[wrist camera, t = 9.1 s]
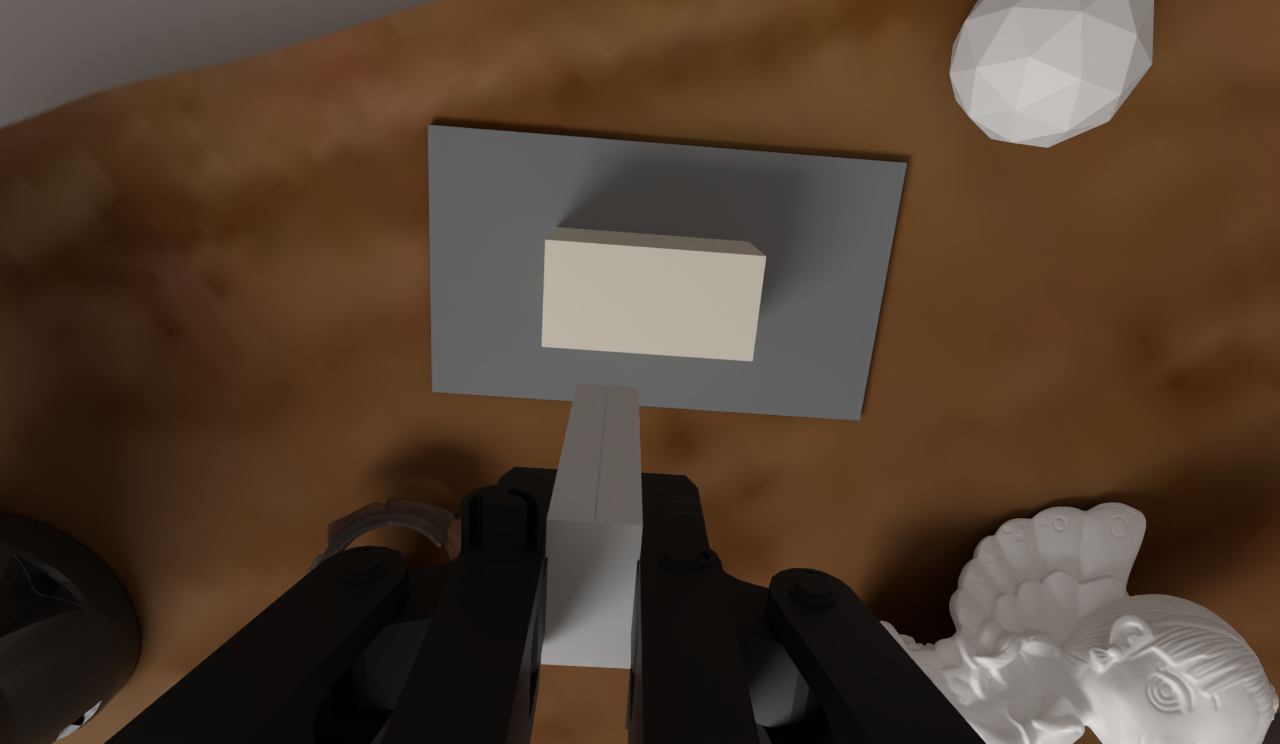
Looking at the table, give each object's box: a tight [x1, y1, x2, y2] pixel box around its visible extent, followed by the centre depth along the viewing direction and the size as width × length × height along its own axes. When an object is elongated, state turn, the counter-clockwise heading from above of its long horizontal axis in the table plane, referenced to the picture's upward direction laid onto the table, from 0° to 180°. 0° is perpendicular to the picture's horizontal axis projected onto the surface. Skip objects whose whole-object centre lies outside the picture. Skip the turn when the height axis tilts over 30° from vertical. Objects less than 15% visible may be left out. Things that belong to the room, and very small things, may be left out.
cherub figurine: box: [880, 502, 1279, 744], centre depth 39 cm, size 13×12×20 cm
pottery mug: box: [306, 498, 461, 575], centre depth 41 cm, size 12×10×8 cm
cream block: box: [542, 227, 766, 361], centre depth 35 cm, size 5×5×10 cm
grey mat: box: [428, 125, 907, 420], centre depth 38 cm, size 24×14×1 cm, turn 86°
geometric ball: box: [949, 0, 1154, 148], centre depth 31 cm, size 8×8×8 cm
